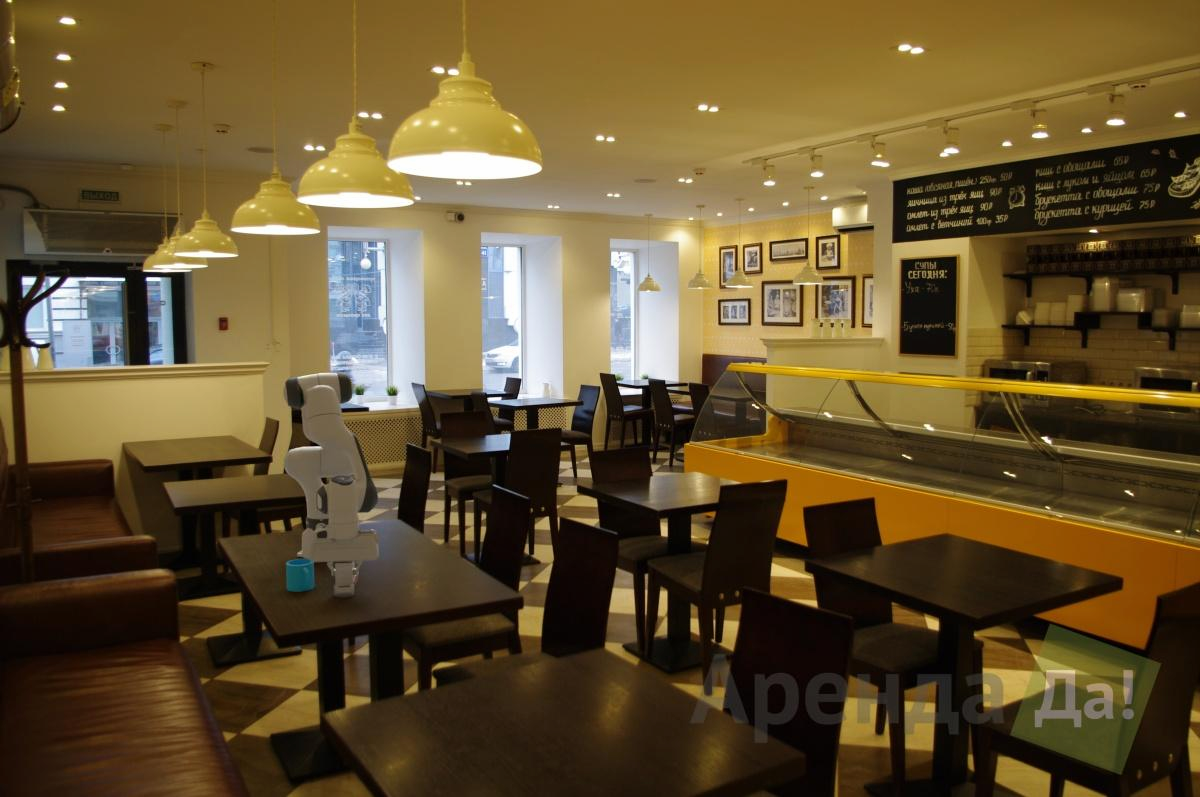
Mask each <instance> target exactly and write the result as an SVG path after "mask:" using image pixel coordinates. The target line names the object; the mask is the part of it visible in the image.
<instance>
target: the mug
mask: <svg viewBox="0 0 1200 797" xmlns="http://www.w3.org/2000/svg"><path fill="white" fill-rule="evenodd" d="M314 564H315V562H312V561H311V560H310V559H306V558H297V559H291V560H288V561H286V563H285V572H286V575H285V576H286V590H287V591H289V592H300V593H301V592H306V591H309V590H313V589H314V588H315V565H314Z"/></svg>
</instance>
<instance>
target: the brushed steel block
mask: <svg viewBox="0 0 1200 797" xmlns="http://www.w3.org/2000/svg"><path fill="white" fill-rule="evenodd" d="M355 562H356V561H335V563H334V569H335V576H334V578H335V579H334V580H335V582H334V583H335V584H336V585H337V584H353V582H354V580H355V575H353V569H354V568H356V567H355Z"/></svg>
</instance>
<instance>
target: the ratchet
mask: <svg viewBox="0 0 1200 797" xmlns="http://www.w3.org/2000/svg"><path fill="white" fill-rule="evenodd" d="M358 581H359V574H358V575H355V580H354V582H353V584H337V585H336V583H335V584H334V585H333V597H335V598H339V599H346V598H350V597H353V596H354V595H355V586H356V584H357V583H358Z"/></svg>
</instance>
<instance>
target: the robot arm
mask: <svg viewBox="0 0 1200 797" xmlns="http://www.w3.org/2000/svg"><path fill="white" fill-rule="evenodd" d="M354 390H355V388H354V382H353V380H352V379H351V377H350V375H349V374H348V373H346V372H339V371H336V372H319V373H315V374H313V373H312V374H308V375H302V376H293V377H290V378H288V379H287V380H285V382H284V386H283V392H282V393H283V399H284V400H285V402H286V404H287V406H289V407H290V409H291V408H292V409H296V410H297V409H299V410H301V420H302V432H303V434H304V436H305V437H306V438H307V439H308V440H309V441H311V442H312V443H315V444H316V445H318V446H301V447H296V448H291V449H289V450H288V451H287V453H286V454H285V456H284V458H283V467H284V469H285V472H286V473H287V475H289V476H290V477H291V478H293V479H294V480H296V482H297V483H298V484H299V485H300V486H301V488H302V490H303V492H304V495H305V501H306V509H307V510H306V511H307V512H306V513H307V514H306V515H307V516H306V517H305V523H306V524H305V526H306V529H305V530H303V532H302V534H301V550H300V551H298V552H297V554H296V557H300V558H303V559H310V560H311V561H312V562H314V563H326V565H327V568H328V569H329V570H330V573H331V574H330V575H331V576H332V577H335V566H333V565H334V562H336V561H355V562H356V565H357V566H356V567H355V568H354V569H353V575H358V576H359V569H360V567H361V565H362V563H363V562H364V561H365V562H366V561H375V560H377V559H378V558H379V557H380V552H379V551H380V550H379V542H380V534H379V531H377V530H375V529H371V528H370V529H360V520H359V519H360V518H359V515H358V514H359V513H362V514H363V513H367V514H368V513H370V512H371V511H372V510H373V509H374V508H375V507H376V506H377V504H378V501H379V495H378V490H377V488H376V485H375V483H374V481H373V479H372V477H371V473H370V471H369V467H368V465H367V464H368V463H367V461H366V458H365V455H364V452H363V450H362V447H361V446H362V445H361V444H360V441H359V439H358V436H357V435H356V434H355V433H354V432H352V431H350V430H349V428H348V427H347V426H346V424H345V421H344V418H343V412H342V408H341V405H342V404H345V403H349V402H350V401H351V399H352V398H353V394H354ZM352 475H353V476H354V477H352ZM323 478H330V479H329V483H327V484H324V482H323V480H322V479H323Z"/></svg>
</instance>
